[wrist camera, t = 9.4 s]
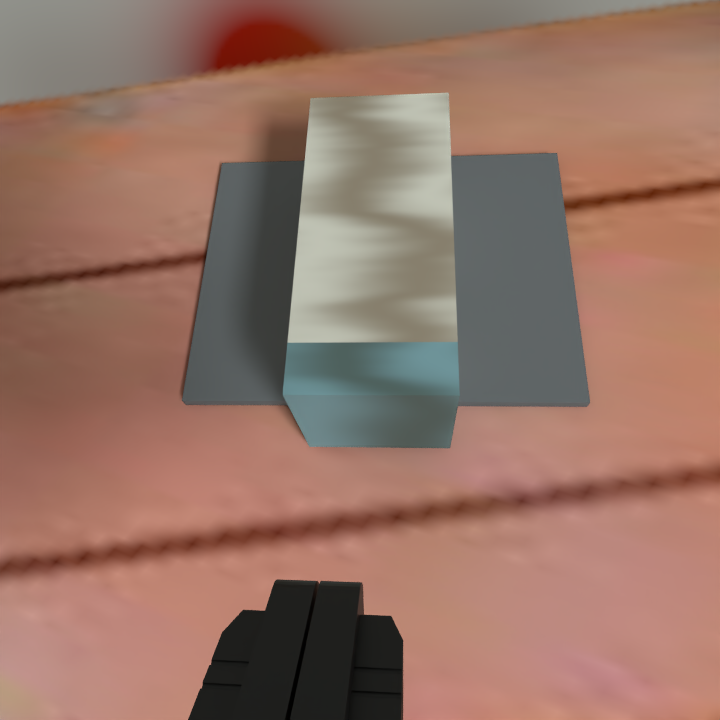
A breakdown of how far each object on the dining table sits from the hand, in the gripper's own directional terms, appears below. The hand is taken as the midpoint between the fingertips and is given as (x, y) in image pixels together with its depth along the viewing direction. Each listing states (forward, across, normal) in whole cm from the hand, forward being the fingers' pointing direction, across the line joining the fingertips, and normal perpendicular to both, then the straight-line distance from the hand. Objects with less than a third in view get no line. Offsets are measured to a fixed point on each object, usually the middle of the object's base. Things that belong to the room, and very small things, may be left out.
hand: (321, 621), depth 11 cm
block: (+13, 0, +2) cm, 13 cm away
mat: (+22, 0, -2) cm, 22 cm away
